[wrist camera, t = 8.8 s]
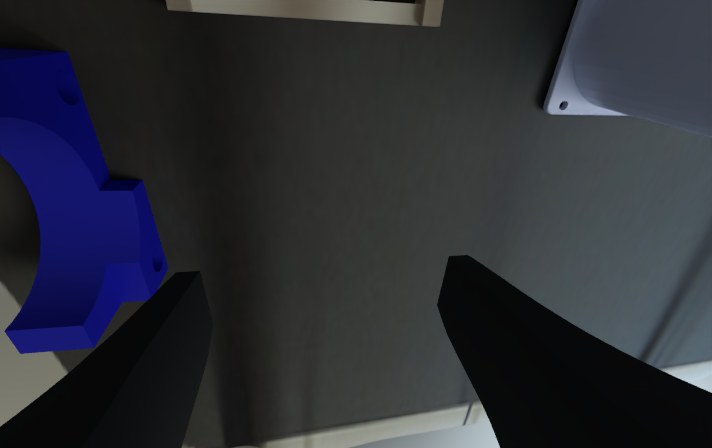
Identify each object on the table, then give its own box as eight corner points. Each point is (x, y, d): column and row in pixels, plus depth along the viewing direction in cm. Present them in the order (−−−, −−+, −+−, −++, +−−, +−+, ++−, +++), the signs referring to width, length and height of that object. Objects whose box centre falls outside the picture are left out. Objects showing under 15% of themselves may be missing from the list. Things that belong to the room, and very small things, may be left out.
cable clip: (169, 266, 21) (129, 344, 16) (89, 270, 20) (20, 353, 15) (107, 53, 15) (10, 70, 10) (-11, 47, 14) (-186, 61, 9)
